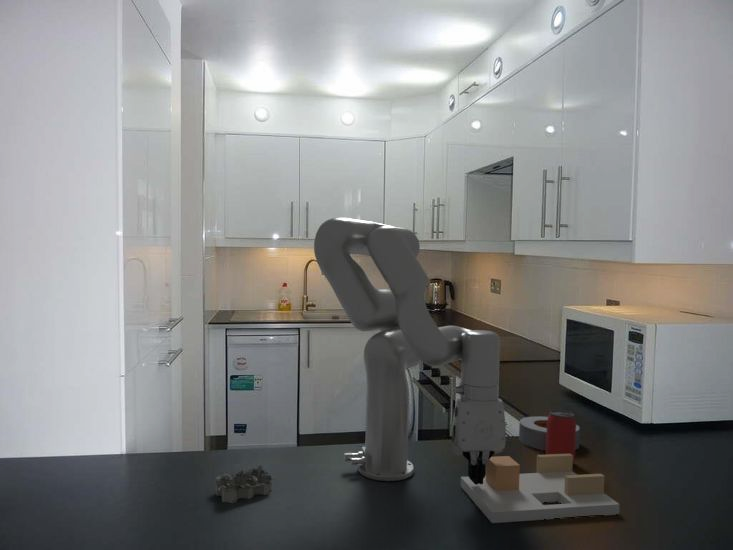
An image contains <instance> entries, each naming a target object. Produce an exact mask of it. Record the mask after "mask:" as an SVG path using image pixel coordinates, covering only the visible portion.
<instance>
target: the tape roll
mask: <svg viewBox="0 0 733 550" xmlns="http://www.w3.org/2000/svg"><path fill="white" fill-rule="evenodd" d="M547 419H548V416H526V417H523V418H521V419H520V420H519V425H518V426H519V429H518V430H519V431H518V440H519V442H520V441H521V443H522V444H523V443H524V444H523V445H524V446H527V447H529V446H530V447H529V448H532V447H533V449H535V448H536V449H535V450H539V449H540V450H539V451H543V450H545V452H546V436H547ZM580 431H581V429H580V426H579V425H577V424H576V438H575V451H576V449H577V450H578V449H579V448H580V433H581V432H580Z"/></svg>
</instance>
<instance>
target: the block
mask: <svg viewBox="0 0 733 550" xmlns="http://www.w3.org/2000/svg"><path fill="white" fill-rule="evenodd" d="M520 471H521V465H520V464H519V463H518V462H517V461H516V460H514V459H513V458H512V457H511V456H510V455H504V456H500V455H499V456H492V457H491V458H490V459H489V460H488V463H487V464H486V465H485V476H486V482H487V483H488V484H489V485H490V486H491V487H492V488H493V489H494V490H495V491H504V490H519V476H520V474H521V472H520Z"/></svg>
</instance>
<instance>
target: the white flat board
mask: <svg viewBox="0 0 733 550" xmlns="http://www.w3.org/2000/svg"><path fill="white" fill-rule="evenodd" d="M573 465H574V464H573V455H571V454H548V455H546V454H536V466H535V467H536V468H535V469H536V471H535V472H532V473H530V472H529V473H520V476H519V490H504V491H495V490H494V489H493V488H492V487H491V486H490V485H489V484H488V483H487V482H486V475H485V478H483V484H477V485H475V484H474V483H473V482H472V481H471V480H470V478H469V476H468V475H467V476H460V488H461V489H462V490H463V491H464V492H465V493H466V495H467V496H468V497H469V498H470V499H471V501H472V502H474V504H475V505H476V506H477V507H478V509H480V511H481V512H482V514H484V516H485V517H486V518H487V519H488V521H490V523H491V524H500V523H501V524H502V523H512V522H513V523H514V522H515V523H517V522H527V521H528V522H529V521H542V520H544V519H546V520H555V519H554V518H560V519H563V518H562V517H573V516H588V515H604V516H615V515H616V514H618V515H620V503H618V502H617V501H616V500H614V499H612V498H611V497H610V496H608V495H607V494H606V493H605V475H604V474H602V473H590V474H589V473H588V474H585V473H584V474H578V473H576V472H574V471H573V467H574V466H573ZM556 501H557V502H556ZM544 502H547V503H558V504H545V503H544ZM560 503H561V504H560Z"/></svg>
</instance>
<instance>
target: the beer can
mask: <svg viewBox="0 0 733 550" xmlns="http://www.w3.org/2000/svg"><path fill="white" fill-rule="evenodd" d="M547 417H548V419H547V436H546V451H545V455H548V454H571V455H573V465H574V464H575V458H576V450H575V438H576V425H577V422H576V417H575V413H573V412H571V411H568V410H564V409H553V410H552V409H551V410H550V411H549V414H548V416H547Z"/></svg>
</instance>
